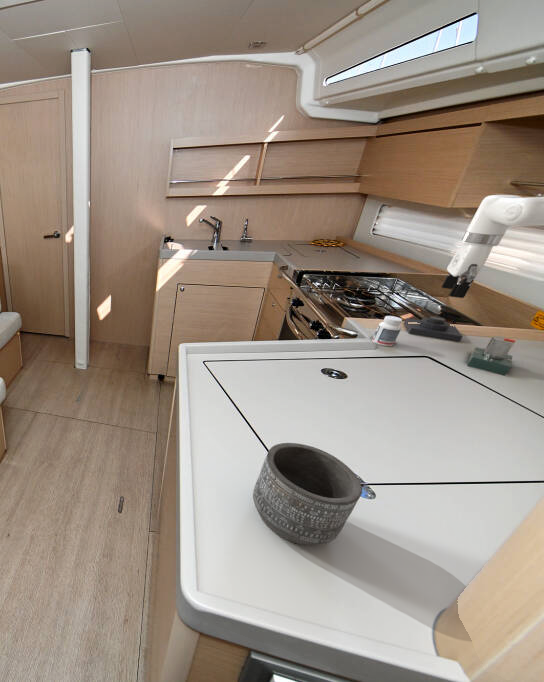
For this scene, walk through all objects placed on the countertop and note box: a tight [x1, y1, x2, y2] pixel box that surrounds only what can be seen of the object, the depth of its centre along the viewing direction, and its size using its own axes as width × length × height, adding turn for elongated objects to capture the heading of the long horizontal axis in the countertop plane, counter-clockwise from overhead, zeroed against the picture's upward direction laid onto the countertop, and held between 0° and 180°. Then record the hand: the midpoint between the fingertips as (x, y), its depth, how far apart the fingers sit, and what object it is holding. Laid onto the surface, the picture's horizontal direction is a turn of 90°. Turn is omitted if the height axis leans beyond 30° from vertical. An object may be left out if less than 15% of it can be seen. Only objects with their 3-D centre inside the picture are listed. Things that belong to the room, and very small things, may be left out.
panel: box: [466, 346, 517, 376], centre depth 101 cm, size 9×8×3 cm
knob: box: [482, 335, 517, 360], centre depth 99 cm, size 4×4×6 cm
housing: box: [403, 317, 464, 343], centre depth 120 cm, size 12×10×4 cm
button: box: [428, 315, 446, 325], centre depth 119 cm, size 4×4×2 cm
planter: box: [252, 442, 363, 546], centre depth 58 cm, size 12×12×13 cm
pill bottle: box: [371, 315, 403, 347], centre depth 114 cm, size 5×5×9 cm
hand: (451, 292), depth 114 cm, fingers open, 9 cm apart
